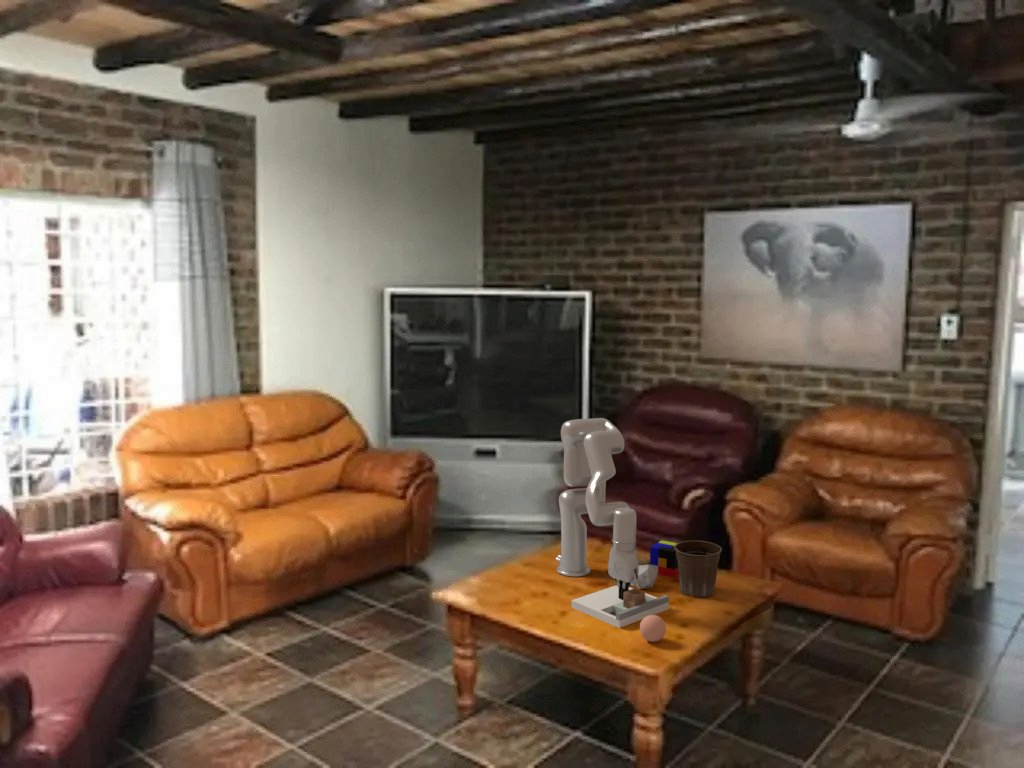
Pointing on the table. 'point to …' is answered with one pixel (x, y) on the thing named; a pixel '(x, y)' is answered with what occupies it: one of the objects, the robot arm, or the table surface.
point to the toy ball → (652, 628)
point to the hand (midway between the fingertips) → (623, 598)
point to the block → (633, 598)
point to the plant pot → (697, 567)
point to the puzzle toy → (664, 559)
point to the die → (646, 577)
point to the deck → (618, 607)
